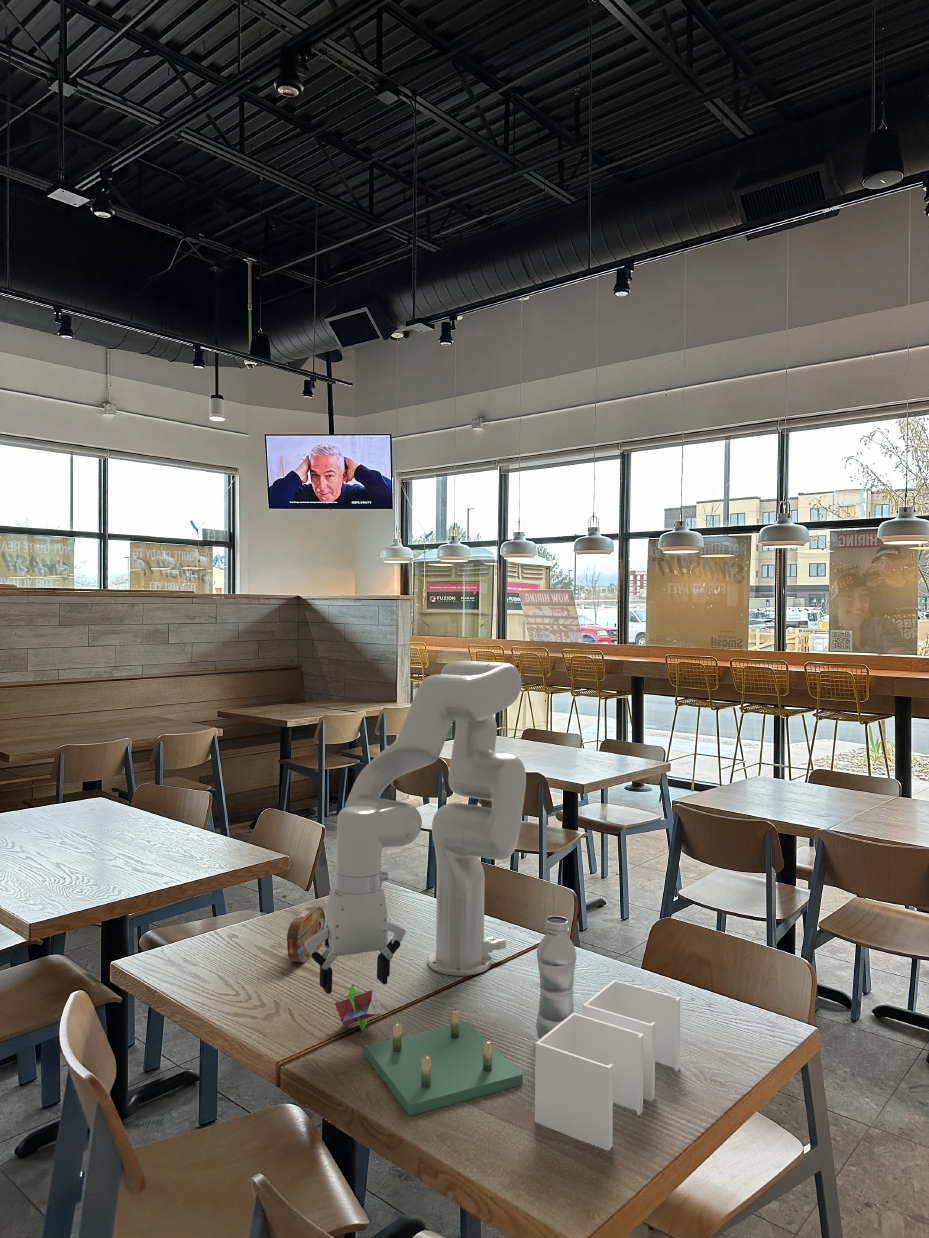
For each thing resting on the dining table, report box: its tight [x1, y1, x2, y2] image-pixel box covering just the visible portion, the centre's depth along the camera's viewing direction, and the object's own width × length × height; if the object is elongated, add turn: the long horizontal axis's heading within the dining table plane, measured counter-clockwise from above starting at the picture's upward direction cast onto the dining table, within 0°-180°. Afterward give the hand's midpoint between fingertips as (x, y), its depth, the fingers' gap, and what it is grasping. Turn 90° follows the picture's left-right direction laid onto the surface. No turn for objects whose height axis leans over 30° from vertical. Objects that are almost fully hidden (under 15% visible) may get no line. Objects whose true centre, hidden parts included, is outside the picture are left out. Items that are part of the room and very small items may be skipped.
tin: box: [286, 905, 326, 964], centre depth 172 cm, size 15×3×8 cm, turn 168°
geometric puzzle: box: [334, 983, 382, 1035], centre depth 141 cm, size 7×7×8 cm
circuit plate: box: [364, 1021, 524, 1116], centre depth 129 cm, size 18×18×2 cm
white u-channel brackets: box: [534, 979, 681, 1151], centre depth 122 cm, size 25×11×11 cm, turn 145°
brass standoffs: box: [392, 1009, 493, 1088], centre depth 129 cm, size 11×12×4 cm
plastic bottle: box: [535, 915, 577, 1041], centre depth 137 cm, size 6×7×20 cm
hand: (354, 985), depth 141 cm, fingers open, 9 cm apart
